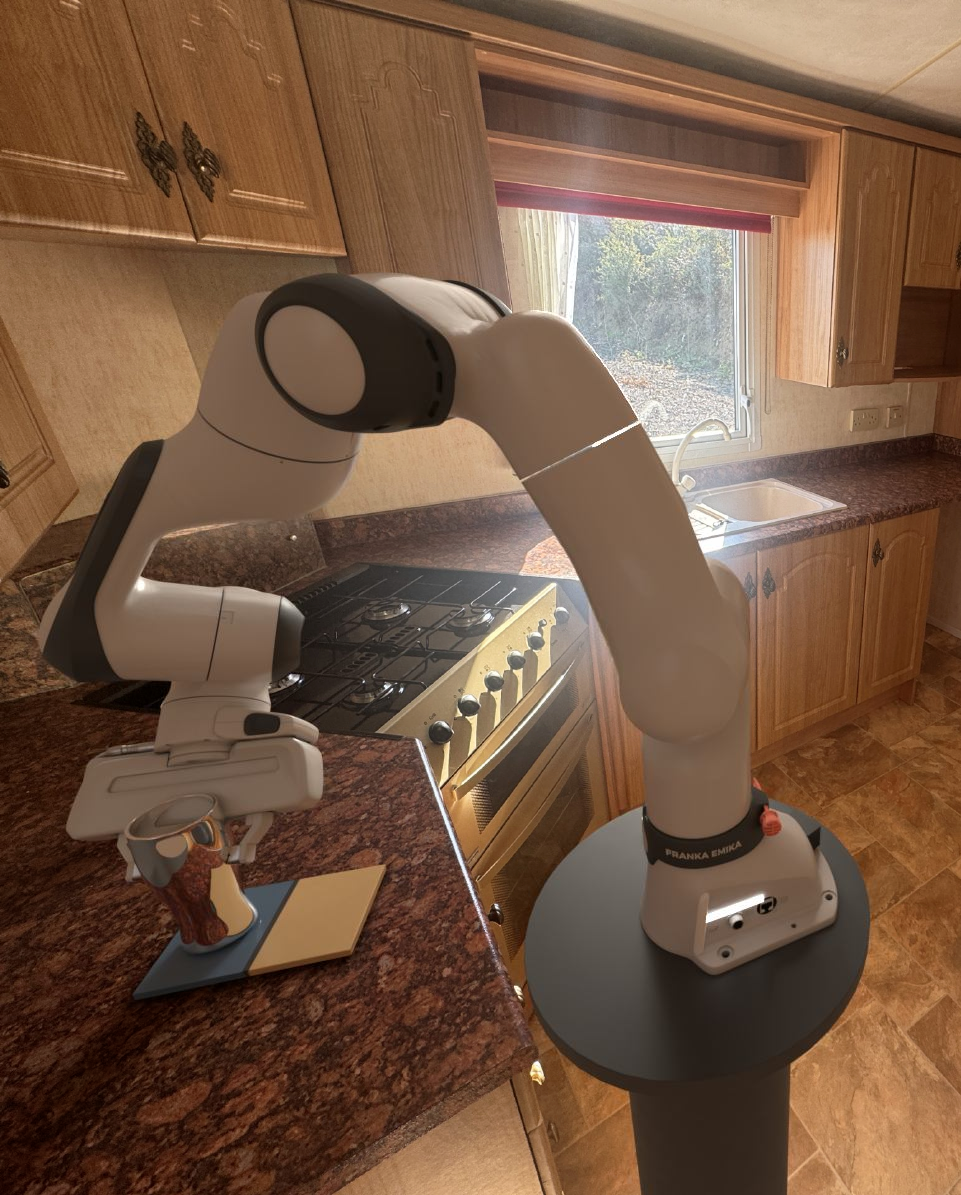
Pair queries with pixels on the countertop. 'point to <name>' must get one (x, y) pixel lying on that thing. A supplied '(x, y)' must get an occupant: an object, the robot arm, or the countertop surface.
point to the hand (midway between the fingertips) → (191, 872)
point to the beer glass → (193, 874)
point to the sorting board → (276, 932)
